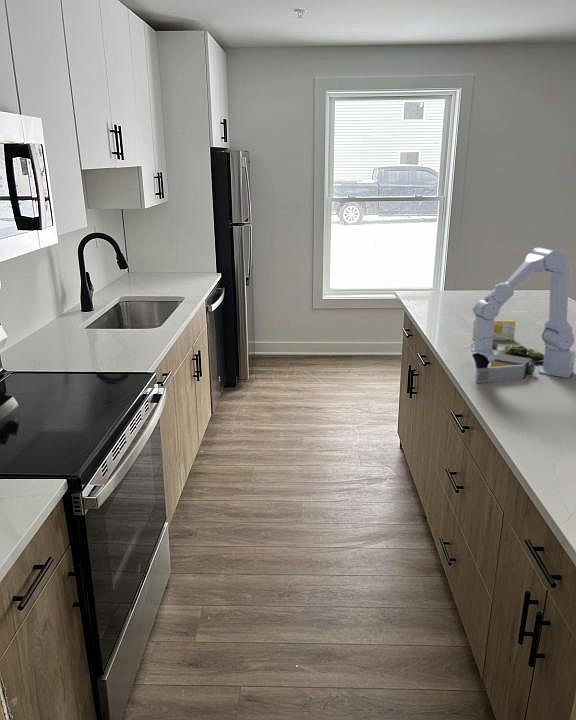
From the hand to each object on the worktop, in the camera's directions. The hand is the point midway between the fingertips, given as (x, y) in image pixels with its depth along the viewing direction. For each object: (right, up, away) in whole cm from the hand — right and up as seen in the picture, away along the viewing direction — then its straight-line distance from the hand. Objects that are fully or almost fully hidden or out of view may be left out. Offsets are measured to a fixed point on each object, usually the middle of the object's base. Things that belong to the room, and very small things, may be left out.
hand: (481, 374), depth 199 cm
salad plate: (+22, +5, +21) cm, 31 cm away
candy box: (+20, +13, +46) cm, 52 cm away
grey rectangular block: (+13, +1, +7) cm, 15 cm away
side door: (+6, -2, -1) cm, 7 cm away
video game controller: (+12, +9, +32) cm, 35 cm away
